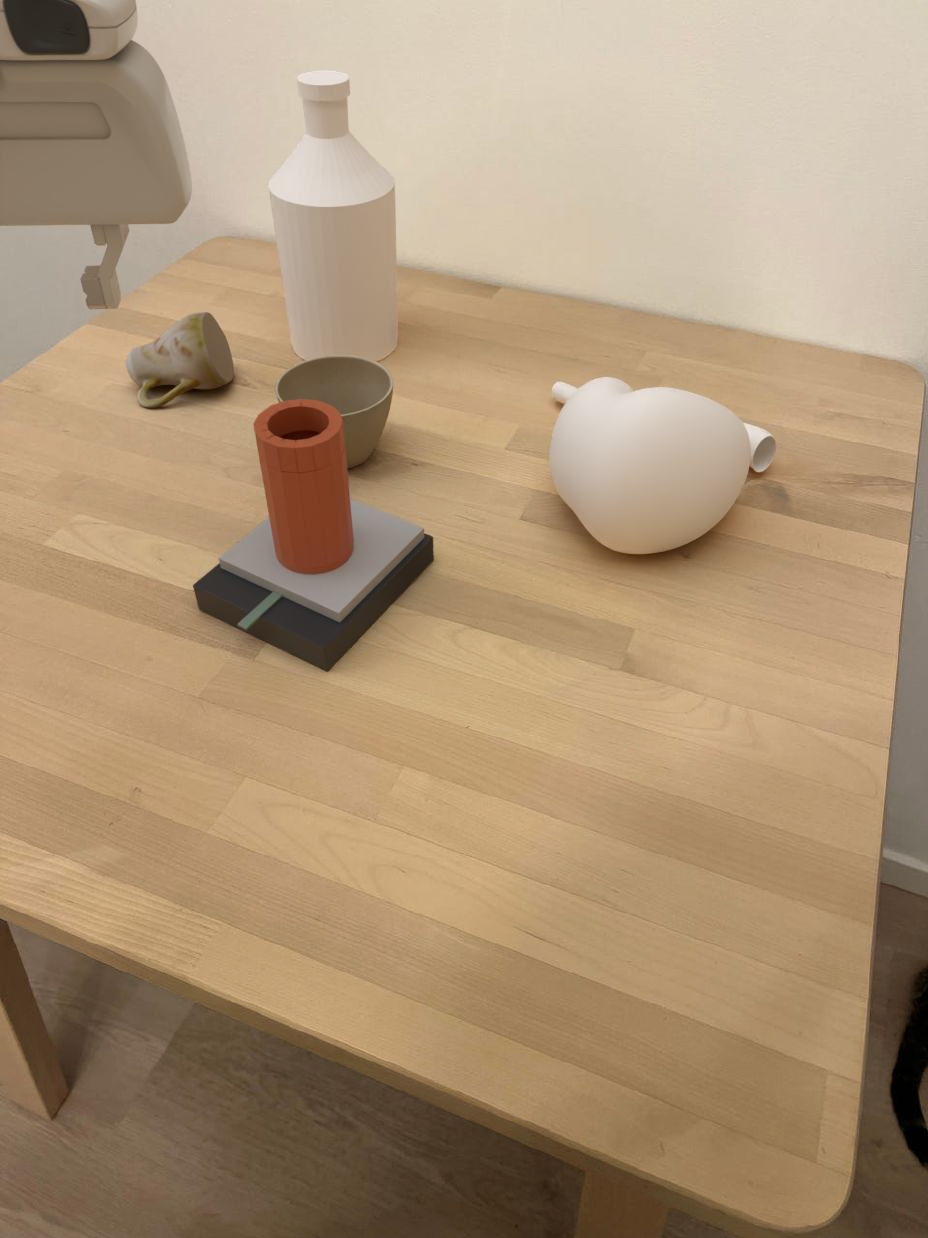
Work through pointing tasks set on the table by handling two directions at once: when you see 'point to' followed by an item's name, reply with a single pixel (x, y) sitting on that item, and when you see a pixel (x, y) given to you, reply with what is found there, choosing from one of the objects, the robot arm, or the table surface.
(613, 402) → the stomach
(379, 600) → the scale
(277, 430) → the jar
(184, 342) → the mug
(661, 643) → the table surface
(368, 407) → the olive grey bowl
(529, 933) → the table surface
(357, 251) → the bottle
